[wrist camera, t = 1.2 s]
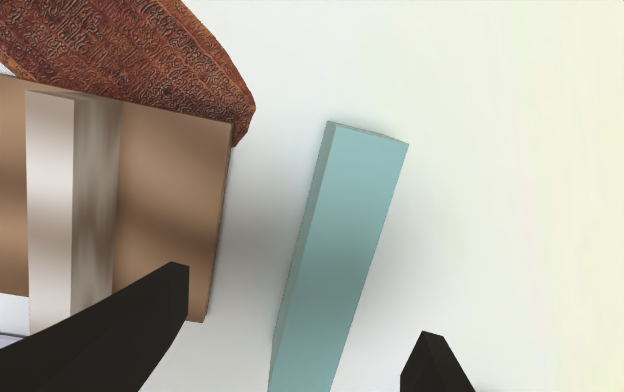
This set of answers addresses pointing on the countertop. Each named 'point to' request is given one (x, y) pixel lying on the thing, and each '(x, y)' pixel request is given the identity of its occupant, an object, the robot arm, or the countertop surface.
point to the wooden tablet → (126, 55)
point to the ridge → (103, 197)
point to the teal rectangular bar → (333, 255)
